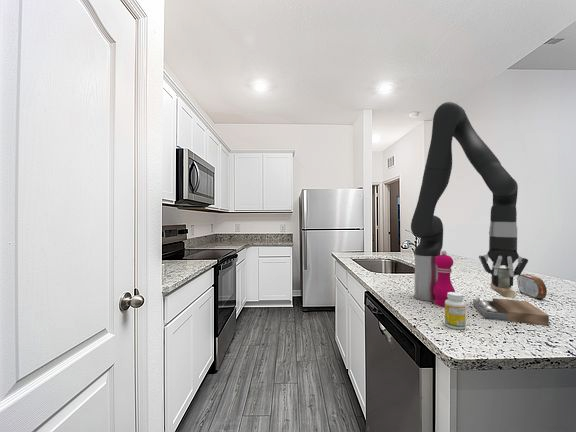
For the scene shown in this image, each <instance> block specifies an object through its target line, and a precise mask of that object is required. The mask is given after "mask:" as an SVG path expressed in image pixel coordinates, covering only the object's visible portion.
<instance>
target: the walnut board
mask: <svg viewBox="0 0 576 432" xmlns="http://www.w3.org/2000/svg"><path fill="white" fill-rule="evenodd" d="M491 301H493V306H494V307H495V308H496V309H497V310H498V311H499V312H500V313H503V314H508V321H507V322H513V323H520V322H521V323H523V324H529V325H530V324H532V325H540V326H548V327H549V326H550V315H549V314H547V313H546V312H544V311H542V310H541V309H540V308H539V307H536V306H535V305H534V304H532V303H530V302H528V301H527V300H517V299H508V298H507V299H506V298H495V297H494V298H493V297H492V299H491ZM521 323H520V324H521Z"/></svg>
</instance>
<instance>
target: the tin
mask: <svg viewBox="0 0 576 432" xmlns="http://www.w3.org/2000/svg"><path fill="white" fill-rule="evenodd" d="M516 281H517V288H518V290H519V292H520V293H522V294H523V295H525V296H528V297H530V298H533V299H537V300H540V299H541V300H544V299H545V298H546V296H547V294H548V293H547V292H548V291H547V286H546V284H545V282H544V280H543V279H541V277H537V276H534V275H532V274H529V273H526V274H523V273H521V274H520V275H517V279H516Z"/></svg>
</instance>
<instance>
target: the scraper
mask: <svg viewBox="0 0 576 432" xmlns="http://www.w3.org/2000/svg"><path fill="white" fill-rule="evenodd" d="M497 276H498V287H495V286H494V285H493V284H492V282H489V283H490V284H489V285H490V289H491V290H493V291H494V292H495V293H496V294H498V295H500V296H501V297H503V298H507V299H508V298H511V299H516V290H513V289H511V288H510V270H508V269H506V268H505V267H504V268H503V267H500V268H499V269H498V275H497Z"/></svg>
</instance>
